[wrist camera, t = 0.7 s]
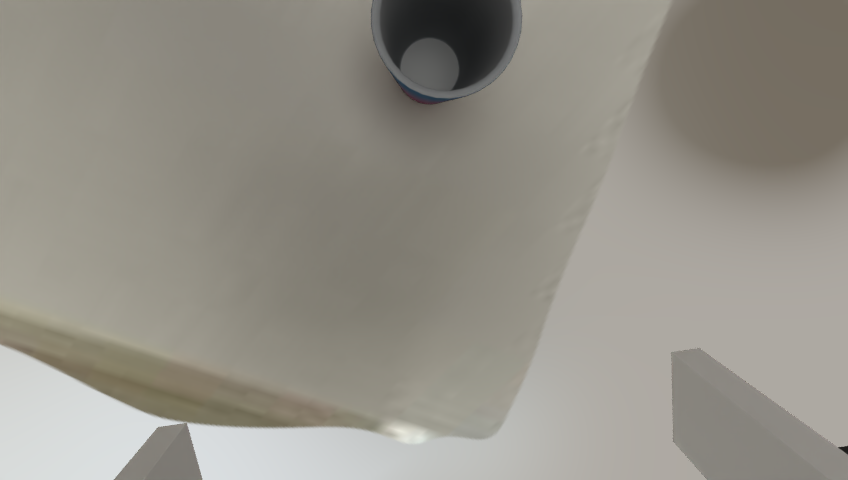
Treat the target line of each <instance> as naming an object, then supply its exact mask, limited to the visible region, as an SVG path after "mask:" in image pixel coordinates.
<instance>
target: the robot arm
mask: <svg viewBox="0 0 848 480" xmlns="http://www.w3.org/2000/svg"><path fill="white" fill-rule="evenodd" d="M671 356H672V398H673V400H672V404H673V442H674V443H675V444H676V445H677V446H678V447H679V448H680V450H681V451H682V452H683V453H684V454H685V455H686V456H687V458H688V459H689V460H690V461H691V462H692V463H693V464H694V465H695V467H696V468H697V469H698V470H699V471H700V472H701V473H702V474H703V475H704V477H705V478H706V479H707V480H848V446H845V447H836V446H835V445H834V444H832V443H831V442H829V441H828V440H827V439H825V438H824V437H822V436H821V435H819V434H818V433H817V432H815V431H814V430H813V429H811V428H810V427H808V426H807V425H806V424H804V423H803V422H801V421H800V420H799V419H797V418H796V417H795V416H793V415H792V414H790V413H789V412H788V411H786V410H785V409H783V408H782V407H781V406H779V405H778V404H776V403H775V402H774V401H772V400H771V399H769V398H768V397H767V396H765V395H764V394H762V393H761V392H760V391H758V390H757V389H756V388H754V387H753V386H751V385H750V384H749V383H747V382H746V381H744V380H743V379H742V378H740V377H739V376H737V375H736V374H735V373H733V372H732V371H730V370H729V369H728V368H726V367H725V366H723V365H722V364H721V363H719V362H718V361H716V360H715V359H714V358H712V357H711V356H709V355H708V354H707V353H705V352H704V351H702V350H701V349H699V348H697V349H690V350H684V351H677V352H672V353H671ZM114 480H202V476H201V473H200V469H199V465H198V462H197V458H196V455H195V451H194V447H193V444H192V440H191V437H190V433H189V430H188V426H187V423H184V424H177V425H170V426H163V427H158V428H157V429H156V430H155V432H154V433H153V434H152V435H151V436H150V437H149V439H148V440H147V441H146V442H145V443H144V445H143V446H142V447H141V448H140V449H139V450H138V452H137V453H136V454H135V455H134V457H133V458H132V459H131V460H130V461H129V462H128V464H127V465H126V466H125V467H124V468H123V470H122V471H121V472H120V473H119V474H118V475H117V477H116V478H115V479H114Z"/></svg>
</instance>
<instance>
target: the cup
mask: <svg viewBox="0 0 848 480" xmlns="http://www.w3.org/2000/svg"><path fill="white" fill-rule="evenodd" d="M521 25H522V10H521V1H520V0H373V3H372V8H371V26H372V32H373V38H374V42H375V45H376V47H377V50H378V53H379V55H380V57H381V59H382V60H383V62H384V63H385V65H386V67H387V68H388V70H389V71H390V73H391V74H392V75H393V77H394V78H395V80H396V81H397V83H398V84H399V85H400V87H401V88H402V90H403V91H404V92H405V93H406V94H407V95H408V96H409V97H410V98H412V99H413V100H415V101H417V102H419V103H423V104H436V103H440V102H445V101H449V100H453V99H457V98H461V97H465V96H468V95H470V94H473V93H475V92H478V91H480V90H481V89H483V88H485V87H486V86H488V85H489V84H491V83H492V82H493V81H494V80H495V79H496V78H497V77H498V76H499V75H500V74H501V73H502V72H503V71H504V69H505V68H506V67H507V65H508V64H509V62H510V61H511V59H512V57H513V55H514V52H515V50H516V48H517V45H518V41H519V37H520V34H521Z"/></svg>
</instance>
